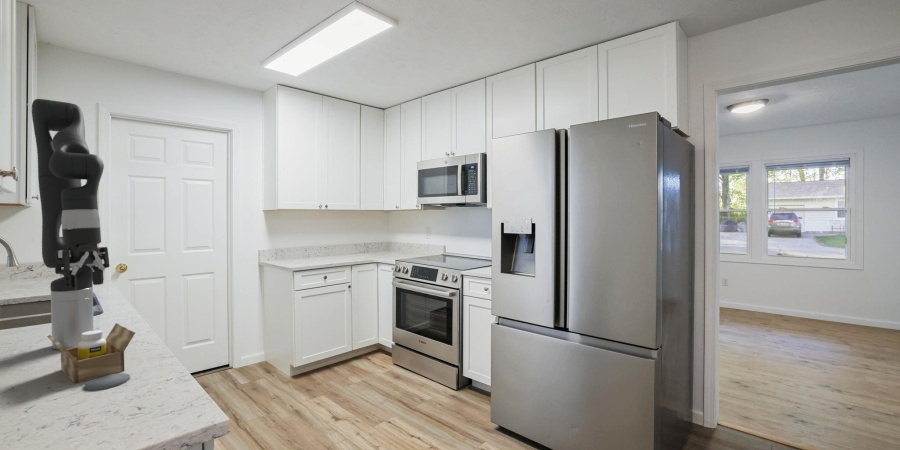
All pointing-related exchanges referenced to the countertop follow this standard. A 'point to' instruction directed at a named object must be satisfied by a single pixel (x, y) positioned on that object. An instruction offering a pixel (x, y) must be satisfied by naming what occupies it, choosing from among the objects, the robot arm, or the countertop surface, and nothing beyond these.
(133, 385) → the countertop surface
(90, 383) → the coaster
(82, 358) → the supplement bottle
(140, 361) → the countertop surface
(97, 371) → the carton
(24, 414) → the countertop surface
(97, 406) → the countertop surface
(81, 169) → the robot arm
